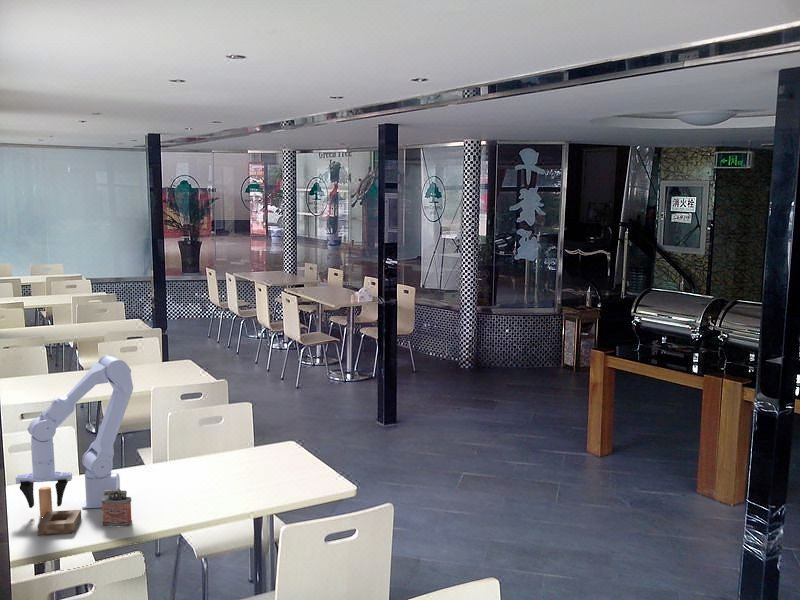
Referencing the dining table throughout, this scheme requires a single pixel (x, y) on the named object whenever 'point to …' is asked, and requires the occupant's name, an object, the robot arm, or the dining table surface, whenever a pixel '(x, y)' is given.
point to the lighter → (116, 508)
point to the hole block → (59, 522)
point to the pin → (45, 500)
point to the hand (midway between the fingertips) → (45, 505)
